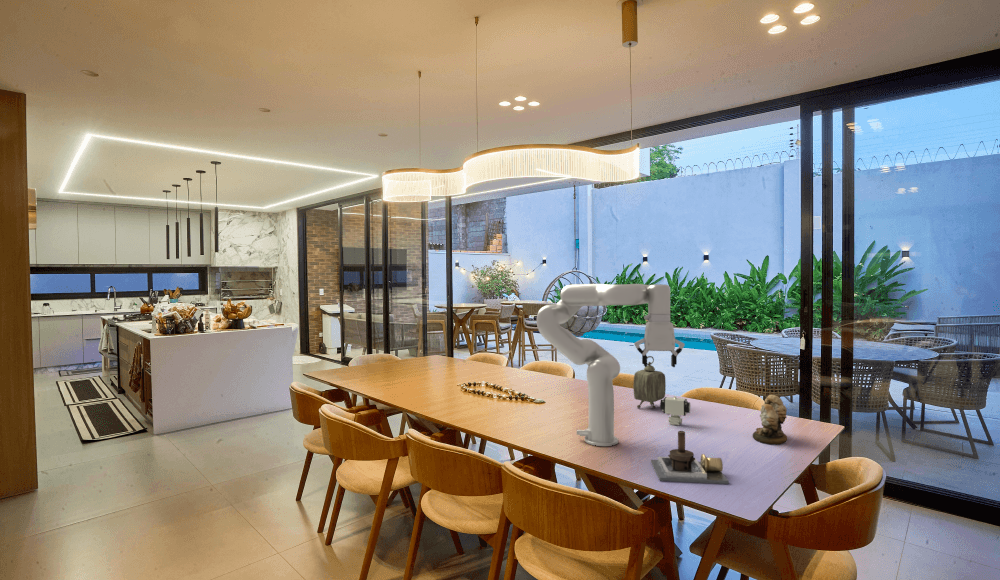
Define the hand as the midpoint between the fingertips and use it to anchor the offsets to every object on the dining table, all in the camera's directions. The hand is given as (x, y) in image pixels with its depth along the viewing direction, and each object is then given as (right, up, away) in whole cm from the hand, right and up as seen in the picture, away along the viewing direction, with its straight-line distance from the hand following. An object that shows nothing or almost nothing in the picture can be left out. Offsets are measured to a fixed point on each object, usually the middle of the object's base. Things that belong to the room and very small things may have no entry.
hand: (659, 366), depth 181 cm
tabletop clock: (+15, -30, +63) cm, 71 cm away
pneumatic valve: (+18, -30, +34) cm, 49 cm away
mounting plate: (+2, -31, -21) cm, 37 cm away
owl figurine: (+47, -30, +14) cm, 58 cm away
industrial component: (0, -30, -20) cm, 36 cm away
